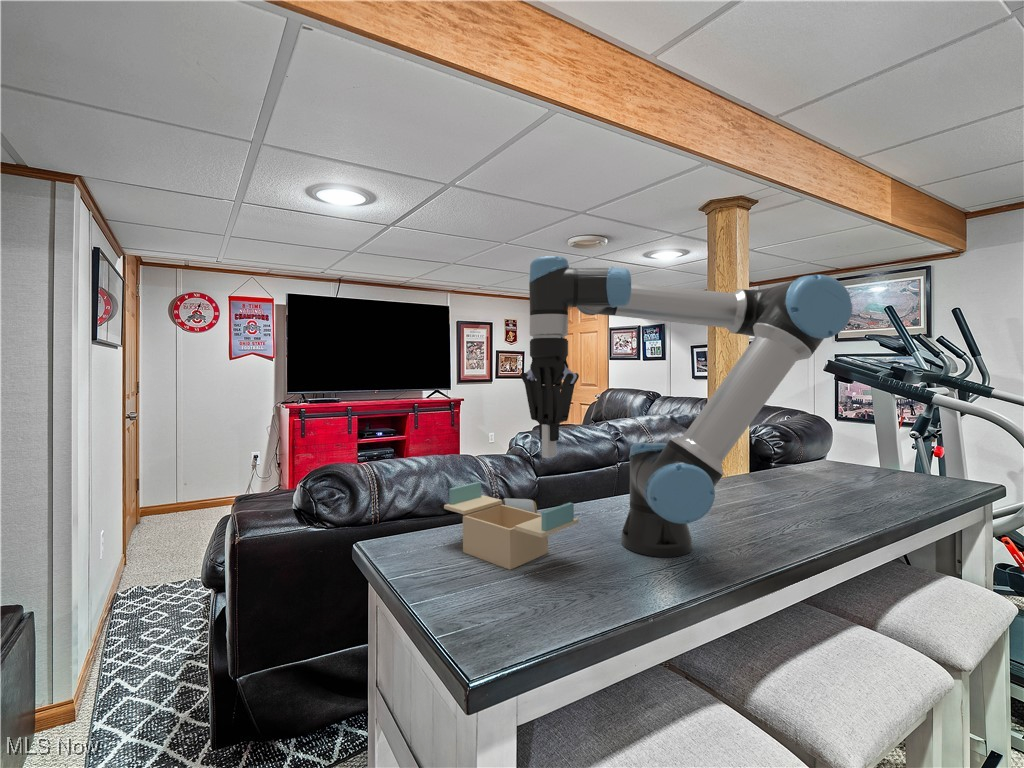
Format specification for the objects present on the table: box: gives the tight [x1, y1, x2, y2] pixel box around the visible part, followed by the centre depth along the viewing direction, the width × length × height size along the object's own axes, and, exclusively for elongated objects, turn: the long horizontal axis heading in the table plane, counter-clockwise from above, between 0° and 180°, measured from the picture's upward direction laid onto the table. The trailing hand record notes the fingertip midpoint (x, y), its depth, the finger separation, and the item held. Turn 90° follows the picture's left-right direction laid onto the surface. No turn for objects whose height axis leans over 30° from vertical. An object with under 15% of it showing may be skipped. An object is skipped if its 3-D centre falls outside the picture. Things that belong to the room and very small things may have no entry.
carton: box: [462, 504, 549, 571], centre depth 109 cm, size 14×12×8 cm
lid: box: [443, 481, 503, 516], centre depth 115 cm, size 7×12×4 cm, turn 137°
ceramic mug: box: [502, 497, 538, 514], centre depth 126 cm, size 11×8×8 cm
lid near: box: [515, 501, 579, 538], centre depth 100 cm, size 7×12×4 cm, turn 137°
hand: (549, 456), depth 100 cm, fingers closed
